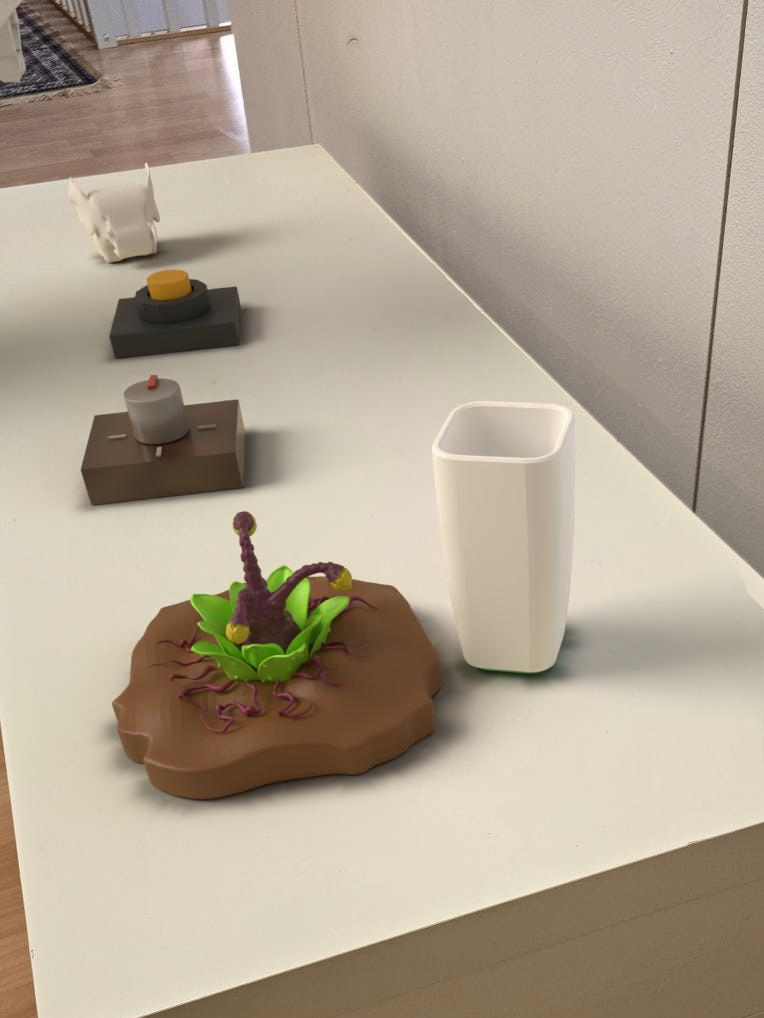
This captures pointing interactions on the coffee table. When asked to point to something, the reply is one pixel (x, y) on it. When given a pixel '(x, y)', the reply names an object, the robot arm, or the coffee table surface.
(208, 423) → the dial panel
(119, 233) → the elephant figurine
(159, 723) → the plant
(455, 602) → the cup
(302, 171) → the coffee table surface
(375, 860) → the coffee table surface
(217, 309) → the button housing
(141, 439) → the dial
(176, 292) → the button
